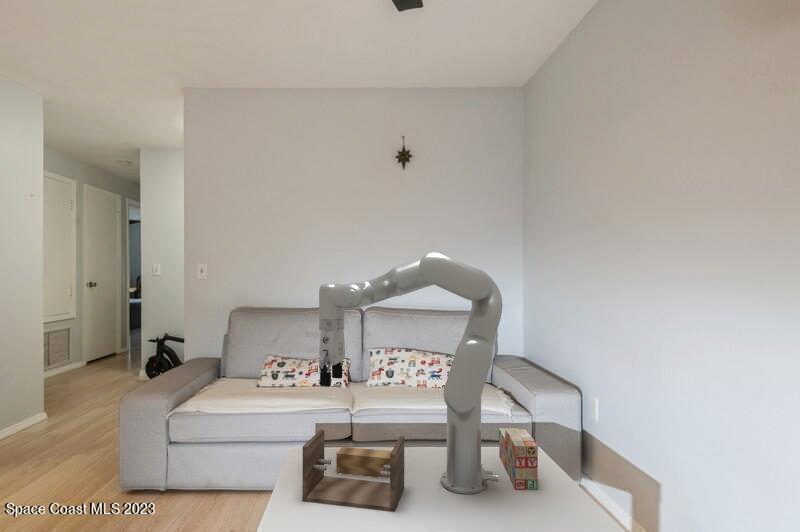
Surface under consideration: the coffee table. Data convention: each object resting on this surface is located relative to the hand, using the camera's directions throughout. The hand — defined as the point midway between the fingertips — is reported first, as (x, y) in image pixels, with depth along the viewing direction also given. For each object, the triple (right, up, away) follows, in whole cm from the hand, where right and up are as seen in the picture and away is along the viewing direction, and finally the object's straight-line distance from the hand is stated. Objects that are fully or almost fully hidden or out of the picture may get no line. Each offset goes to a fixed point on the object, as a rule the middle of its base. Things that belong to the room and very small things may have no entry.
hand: (331, 381), depth 129 cm
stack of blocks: (+55, -27, -2) cm, 61 cm away
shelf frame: (+9, -26, -15) cm, 31 cm away
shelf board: (+11, -26, -2) cm, 29 cm away
